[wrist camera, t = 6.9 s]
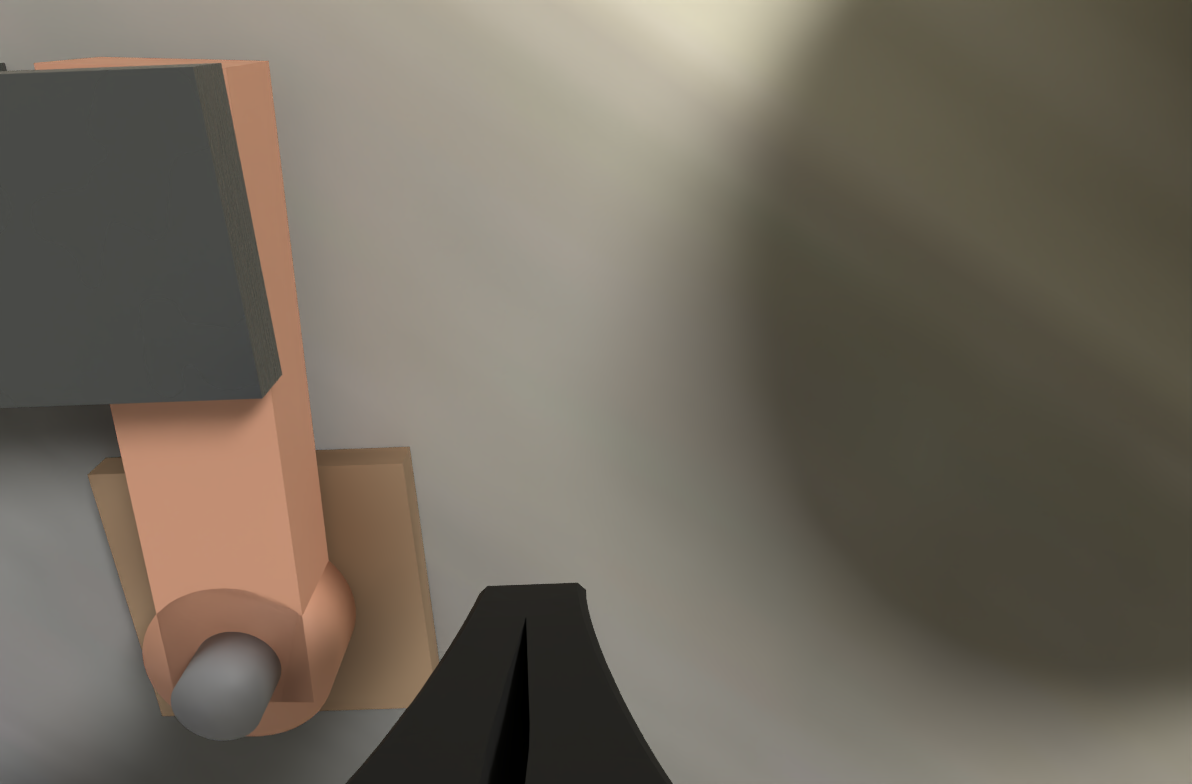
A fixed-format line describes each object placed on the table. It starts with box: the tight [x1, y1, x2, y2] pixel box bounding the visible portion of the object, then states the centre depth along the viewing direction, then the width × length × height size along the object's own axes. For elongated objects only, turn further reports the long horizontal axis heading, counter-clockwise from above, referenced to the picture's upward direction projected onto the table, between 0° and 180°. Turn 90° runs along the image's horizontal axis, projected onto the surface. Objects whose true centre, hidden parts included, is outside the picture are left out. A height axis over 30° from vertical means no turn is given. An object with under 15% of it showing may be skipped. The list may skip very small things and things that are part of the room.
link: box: [34, 57, 356, 741], centre depth 17 cm, size 14×4×3 cm, turn 179°
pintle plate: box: [88, 447, 439, 716], centre depth 21 cm, size 7×7×1 cm
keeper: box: [0, 63, 282, 408], centre depth 15 cm, size 8×5×5 cm, turn 92°
